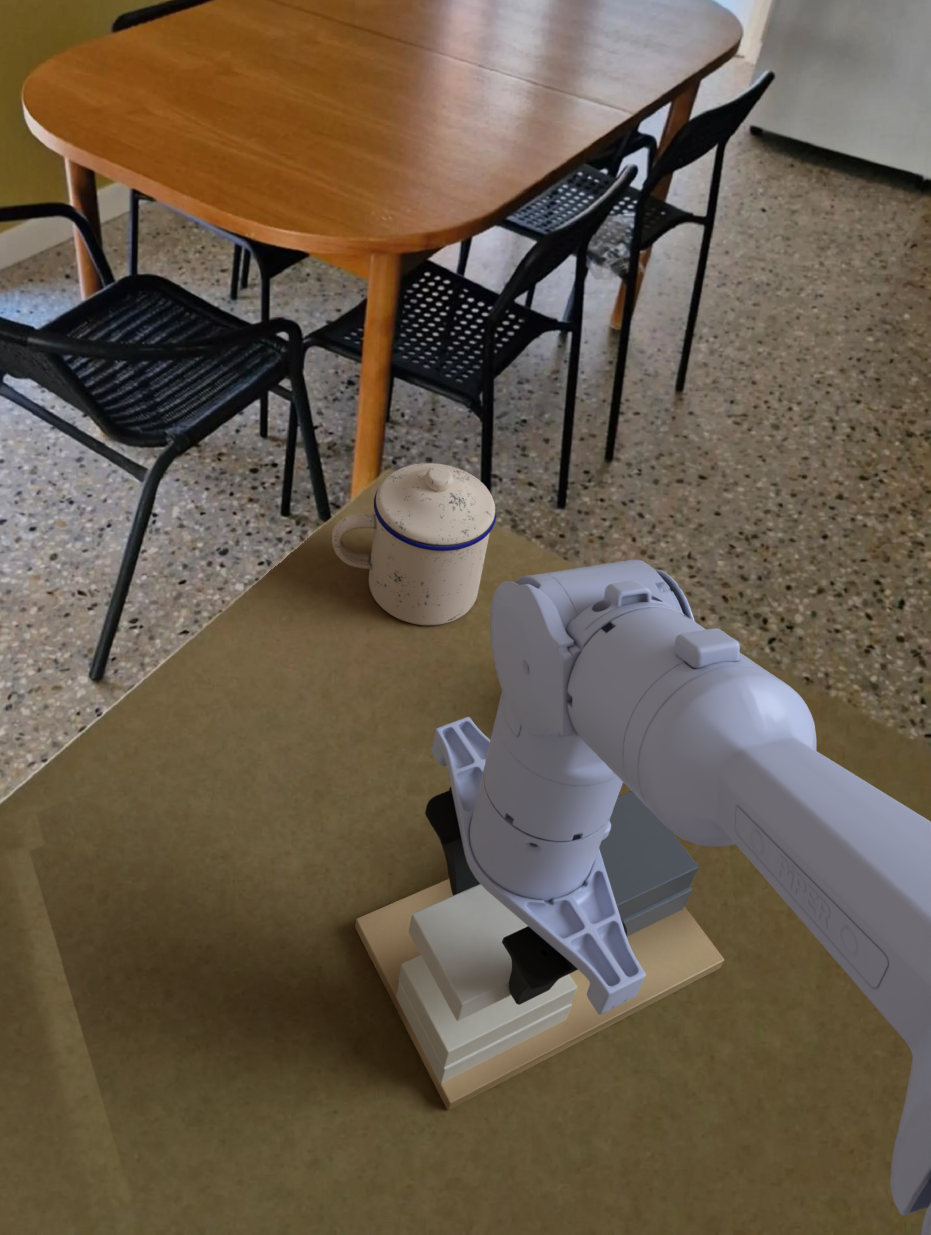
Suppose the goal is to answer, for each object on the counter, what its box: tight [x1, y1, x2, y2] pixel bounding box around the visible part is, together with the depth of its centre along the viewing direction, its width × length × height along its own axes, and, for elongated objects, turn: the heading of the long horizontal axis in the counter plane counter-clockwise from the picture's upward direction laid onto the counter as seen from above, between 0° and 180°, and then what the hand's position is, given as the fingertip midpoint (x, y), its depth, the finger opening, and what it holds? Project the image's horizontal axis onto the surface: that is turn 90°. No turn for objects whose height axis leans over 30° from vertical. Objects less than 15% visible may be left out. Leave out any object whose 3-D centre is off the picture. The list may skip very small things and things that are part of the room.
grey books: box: [599, 790, 700, 936], centre depth 66 cm, size 6×9×4 cm, turn 116°
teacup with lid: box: [331, 462, 497, 626], centre depth 84 cm, size 12×9×12 cm
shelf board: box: [354, 878, 725, 1111], centre depth 65 cm, size 11×18×1 cm, turn 116°
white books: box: [396, 955, 577, 1084], centre depth 60 cm, size 5×8×4 cm, turn 116°
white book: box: [409, 884, 528, 1021], centre depth 56 cm, size 5×8×2 cm, turn 116°
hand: (500, 941), depth 57 cm, fingers closed on white book, 5 cm apart
